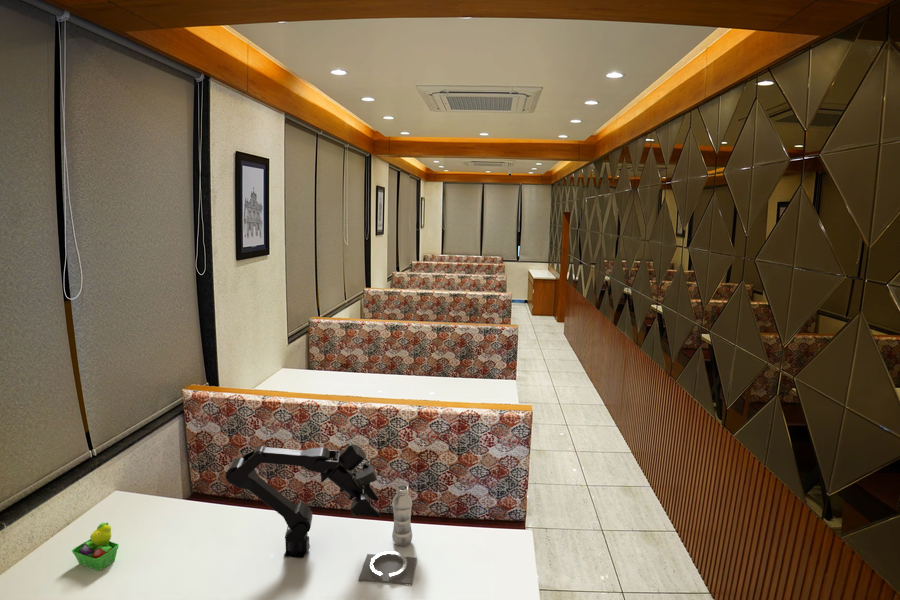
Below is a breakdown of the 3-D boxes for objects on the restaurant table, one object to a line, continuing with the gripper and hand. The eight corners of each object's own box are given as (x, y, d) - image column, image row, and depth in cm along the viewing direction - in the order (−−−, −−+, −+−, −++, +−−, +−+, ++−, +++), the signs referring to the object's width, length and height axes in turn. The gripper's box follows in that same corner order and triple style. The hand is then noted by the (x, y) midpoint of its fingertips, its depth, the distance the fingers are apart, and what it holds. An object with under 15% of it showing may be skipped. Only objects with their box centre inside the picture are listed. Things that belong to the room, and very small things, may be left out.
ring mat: (358, 580, 158) (358, 579, 158) (367, 555, 170) (367, 553, 170) (411, 584, 157) (411, 583, 157) (416, 559, 169) (416, 557, 169)
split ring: (366, 579, 158) (366, 574, 158) (374, 554, 169) (374, 550, 169) (403, 582, 158) (403, 577, 157) (409, 557, 169) (409, 552, 168)
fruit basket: (71, 565, 162) (67, 532, 160) (99, 548, 171) (95, 516, 169) (98, 575, 159) (94, 541, 157) (125, 557, 167) (122, 524, 165)
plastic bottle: (409, 550, 173) (409, 494, 169) (389, 547, 174) (389, 491, 171) (414, 538, 179) (415, 483, 176) (395, 535, 180) (395, 481, 177)
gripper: (361, 475, 160) (398, 506, 164) (361, 447, 178) (394, 476, 182) (335, 501, 160) (372, 531, 164) (337, 470, 178) (371, 498, 182)
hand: (378, 507), depth 173 cm, fingers open, 9 cm apart
